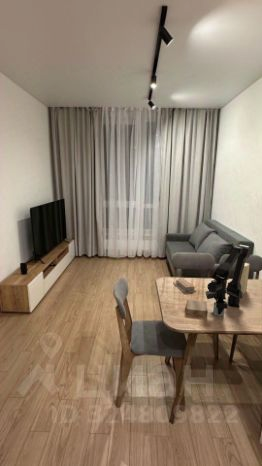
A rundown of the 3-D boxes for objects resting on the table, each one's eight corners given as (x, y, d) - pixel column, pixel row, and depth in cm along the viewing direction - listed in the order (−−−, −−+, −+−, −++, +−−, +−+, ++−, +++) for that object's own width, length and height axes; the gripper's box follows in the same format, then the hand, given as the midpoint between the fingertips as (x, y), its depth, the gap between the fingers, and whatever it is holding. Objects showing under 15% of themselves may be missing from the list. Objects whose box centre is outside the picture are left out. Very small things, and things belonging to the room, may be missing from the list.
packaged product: (197, 286, 180) (184, 287, 177) (196, 292, 181) (184, 293, 178) (185, 276, 197) (173, 277, 194) (184, 282, 198) (173, 283, 195)
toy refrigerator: (236, 288, 188) (239, 261, 184) (246, 291, 184) (250, 263, 179) (232, 291, 182) (235, 264, 178) (243, 294, 177) (246, 266, 173)
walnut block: (205, 307, 159) (206, 301, 159) (207, 317, 148) (207, 311, 147) (186, 305, 162) (186, 299, 161) (186, 315, 150) (186, 308, 150)
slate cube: (222, 311, 154) (223, 303, 153) (223, 316, 149) (224, 307, 148) (213, 310, 155) (214, 302, 154) (214, 315, 150) (215, 306, 149)
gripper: (205, 280, 159) (203, 302, 162) (208, 293, 141) (205, 318, 145) (224, 282, 157) (221, 305, 160) (229, 295, 139) (226, 320, 142)
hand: (218, 311), depth 152 cm, fingers closed on slate cube, 5 cm apart
